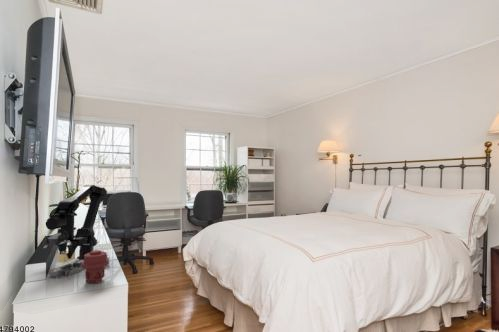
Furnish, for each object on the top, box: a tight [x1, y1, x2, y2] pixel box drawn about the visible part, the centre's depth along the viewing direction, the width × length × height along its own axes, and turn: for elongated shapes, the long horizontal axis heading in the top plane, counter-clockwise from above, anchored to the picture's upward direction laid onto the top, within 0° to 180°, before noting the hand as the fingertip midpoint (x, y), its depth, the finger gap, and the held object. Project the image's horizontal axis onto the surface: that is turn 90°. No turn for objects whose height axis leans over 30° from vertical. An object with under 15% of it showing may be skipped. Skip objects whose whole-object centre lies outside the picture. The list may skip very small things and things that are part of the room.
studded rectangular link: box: [49, 259, 85, 279], centre depth 130 cm, size 16×9×3 cm, turn 168°
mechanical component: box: [81, 249, 110, 284], centre depth 119 cm, size 12×10×10 cm
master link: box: [56, 250, 76, 264], centre depth 139 cm, size 7×4×5 cm, turn 170°
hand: (66, 258), depth 139 cm, fingers closed on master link, 3 cm apart
